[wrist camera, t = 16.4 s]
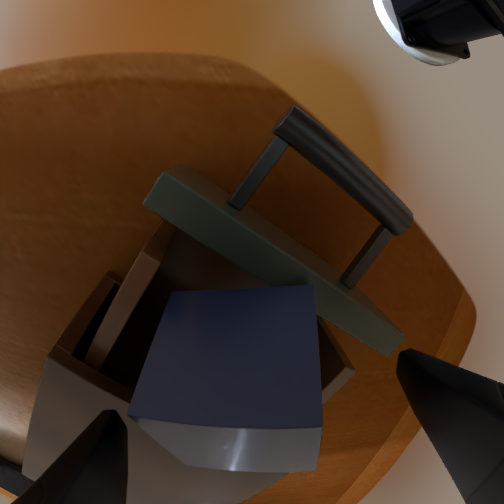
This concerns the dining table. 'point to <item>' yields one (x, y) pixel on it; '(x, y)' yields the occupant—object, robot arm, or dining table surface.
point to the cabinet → (119, 398)
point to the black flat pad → (13, 478)
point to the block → (235, 380)
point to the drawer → (251, 256)
